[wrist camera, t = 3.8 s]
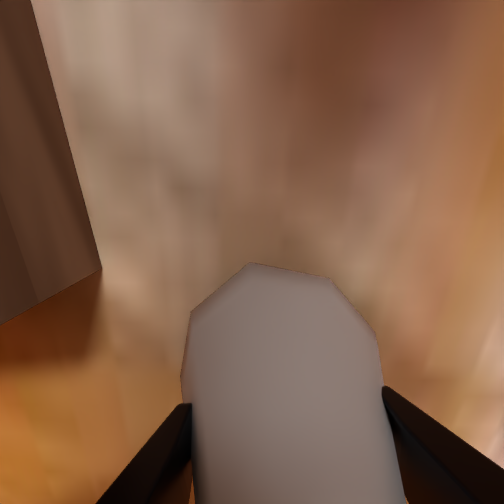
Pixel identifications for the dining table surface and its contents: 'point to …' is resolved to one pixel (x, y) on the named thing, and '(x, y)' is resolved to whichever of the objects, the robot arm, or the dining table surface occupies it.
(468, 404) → the dining table surface
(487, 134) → the dining table surface
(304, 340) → the flask
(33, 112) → the walnut shelf
